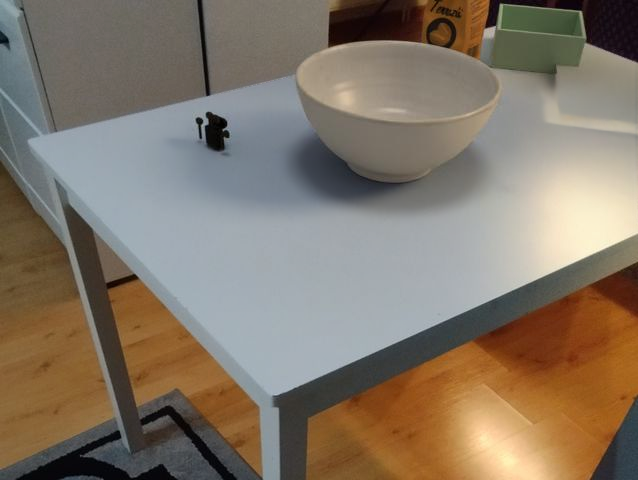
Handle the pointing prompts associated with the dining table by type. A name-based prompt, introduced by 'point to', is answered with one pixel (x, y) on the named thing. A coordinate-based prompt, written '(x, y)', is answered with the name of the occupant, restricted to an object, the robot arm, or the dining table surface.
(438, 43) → the coffee package
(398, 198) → the dining table surface
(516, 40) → the tub
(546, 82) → the dining table surface
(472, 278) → the dining table surface
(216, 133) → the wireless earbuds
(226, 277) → the dining table surface
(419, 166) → the decorative bowl
